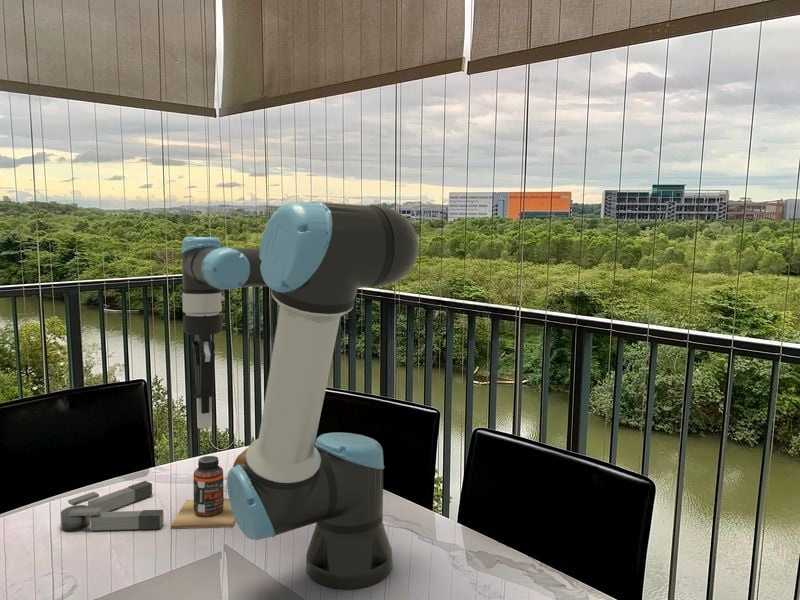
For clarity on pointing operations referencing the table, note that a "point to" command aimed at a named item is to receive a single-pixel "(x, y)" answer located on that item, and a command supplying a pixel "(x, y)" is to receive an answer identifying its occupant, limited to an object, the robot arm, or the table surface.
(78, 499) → the tong jaw
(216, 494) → the supplement bottle
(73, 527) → the tongs base
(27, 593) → the table surface
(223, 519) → the cork mat
